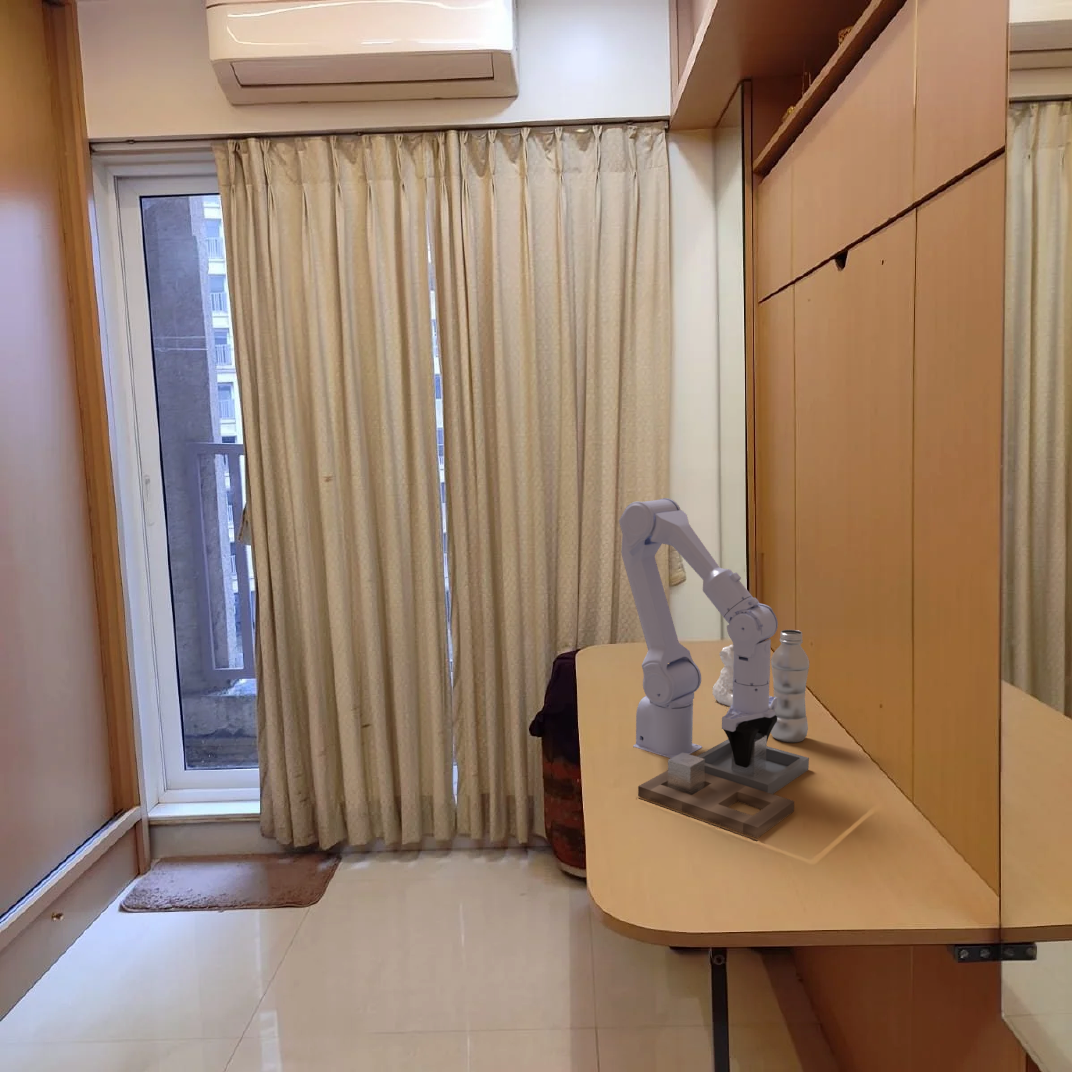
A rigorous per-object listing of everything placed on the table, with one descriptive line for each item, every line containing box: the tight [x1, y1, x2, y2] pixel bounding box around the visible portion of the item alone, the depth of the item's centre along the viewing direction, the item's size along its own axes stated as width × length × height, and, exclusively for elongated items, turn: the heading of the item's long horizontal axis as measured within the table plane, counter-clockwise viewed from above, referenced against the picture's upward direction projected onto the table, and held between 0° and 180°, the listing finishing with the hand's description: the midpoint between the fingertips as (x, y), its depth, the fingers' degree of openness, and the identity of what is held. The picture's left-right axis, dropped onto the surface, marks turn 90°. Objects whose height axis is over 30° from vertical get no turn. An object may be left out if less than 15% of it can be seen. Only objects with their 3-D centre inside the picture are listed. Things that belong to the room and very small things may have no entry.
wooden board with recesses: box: [637, 769, 795, 842], centre depth 127 cm, size 20×11×2 cm, turn 47°
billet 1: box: [667, 752, 705, 795], centre depth 130 cm, size 4×4×6 cm
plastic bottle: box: [770, 629, 810, 743], centre depth 152 cm, size 6×7×20 cm
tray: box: [696, 738, 810, 795], centre depth 138 cm, size 14×14×2 cm
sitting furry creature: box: [712, 643, 734, 708], centre depth 173 cm, size 10×9×12 cm
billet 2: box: [732, 733, 768, 778], centre depth 138 cm, size 4×4×6 cm
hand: (748, 761), depth 138 cm, fingers closed on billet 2, 4 cm apart
